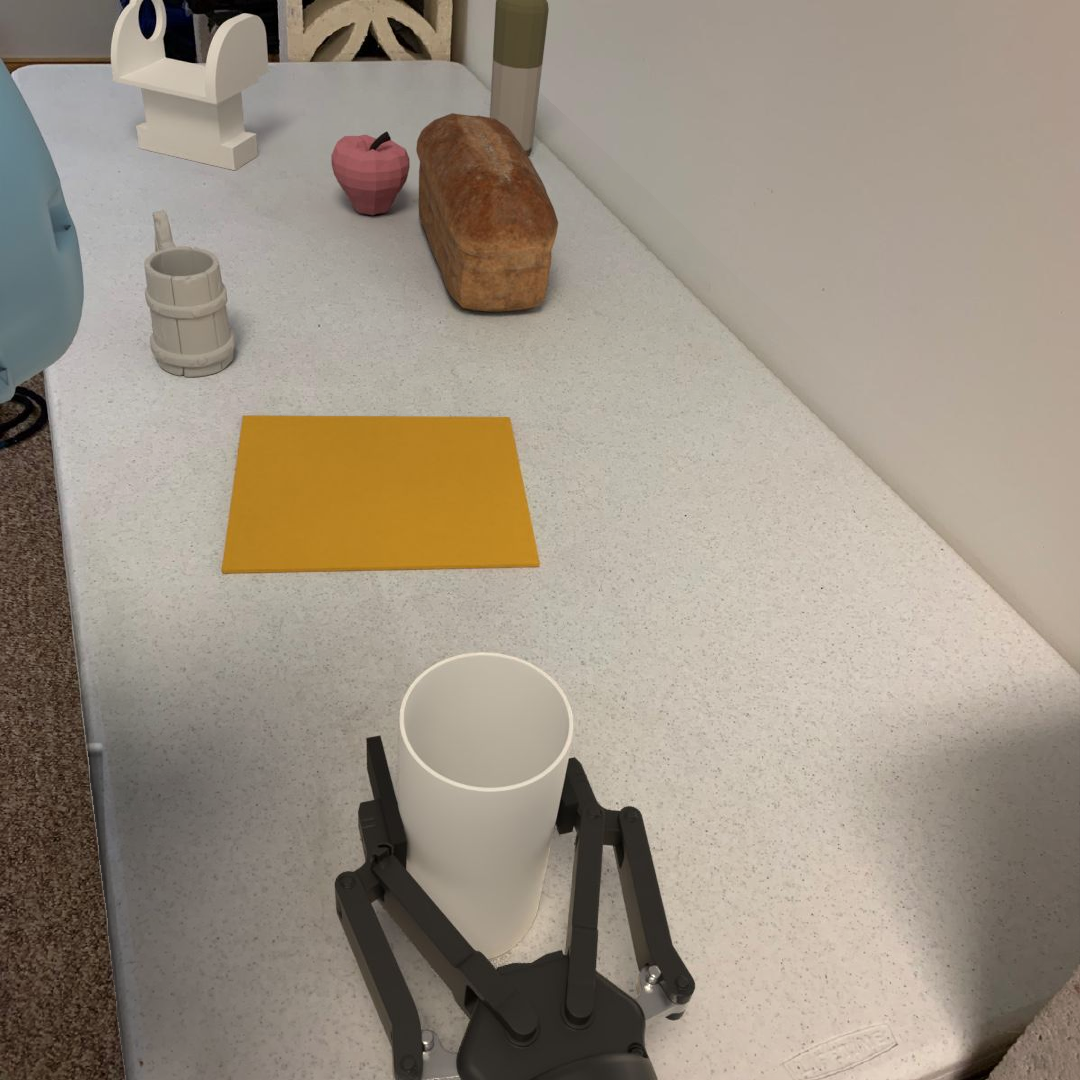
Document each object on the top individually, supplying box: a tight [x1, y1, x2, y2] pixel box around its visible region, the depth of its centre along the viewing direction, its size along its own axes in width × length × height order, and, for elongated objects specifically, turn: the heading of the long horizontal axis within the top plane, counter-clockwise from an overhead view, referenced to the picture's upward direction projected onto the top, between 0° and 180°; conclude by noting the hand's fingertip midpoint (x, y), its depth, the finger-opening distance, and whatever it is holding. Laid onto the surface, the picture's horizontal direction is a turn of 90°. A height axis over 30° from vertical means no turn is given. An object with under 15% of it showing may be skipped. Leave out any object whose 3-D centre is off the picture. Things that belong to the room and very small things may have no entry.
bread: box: [415, 112, 559, 312], centre depth 111 cm, size 12×28×14 cm, turn 15°
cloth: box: [221, 414, 541, 574], centre depth 83 cm, size 24×20×1 cm
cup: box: [396, 651, 574, 961], centre depth 52 cm, size 8×8×16 cm
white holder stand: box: [110, 0, 270, 171], centre depth 126 cm, size 14×13×18 cm
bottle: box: [489, 0, 550, 156], centre depth 133 cm, size 7×7×30 cm
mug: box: [143, 209, 237, 378], centre depth 92 cm, size 8×12×12 cm, turn 31°
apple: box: [330, 130, 411, 216], centre depth 120 cm, size 10×9×10 cm
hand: (454, 736), depth 55 cm, fingers closed on cup, 8 cm apart
